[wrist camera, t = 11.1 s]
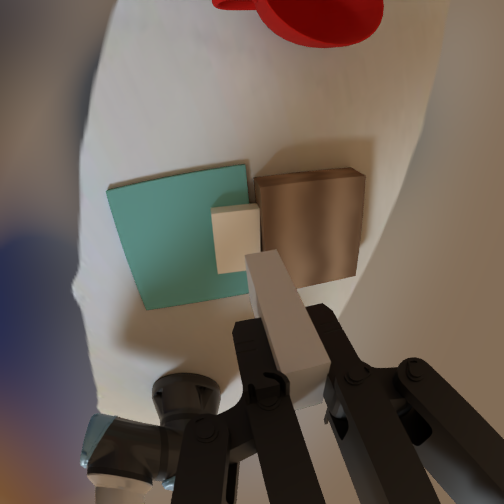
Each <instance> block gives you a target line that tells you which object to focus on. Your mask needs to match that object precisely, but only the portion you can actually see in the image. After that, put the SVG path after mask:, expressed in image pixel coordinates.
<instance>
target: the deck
mask: <svg viewBox="0 0 504 504" xmlns="http://www.w3.org/2000/svg"><path fill="white" fill-rule="evenodd" d="M365 178H366V176H365V175H363V174H361V173H360V172H358V171H356V170H355V169H353V168H339V169H327V170H316V171H306V172H296V173H288V174H279V175H271V176H263V177H256V178H254V187H255V198H256V203H257V205H258V207H259V209H260V251H261V252H264V251H270V250H275V249H277V251H278V253H279V255H280V257H281V259H282V262H283V264H284V266H285V268H286V270H287V272H288V274H289V276H290V278H291V280H292V282H293V284H294V286H295V288H296V289H297V288H302V287H307V286H311V285H316V284H321V283H325V282H330V281H334V280H339V279H343V278H348V277H352V276H356V269H357V261H358V254H359V246H360V237H361V228H362V218H363V206H364V193H365Z"/></svg>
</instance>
